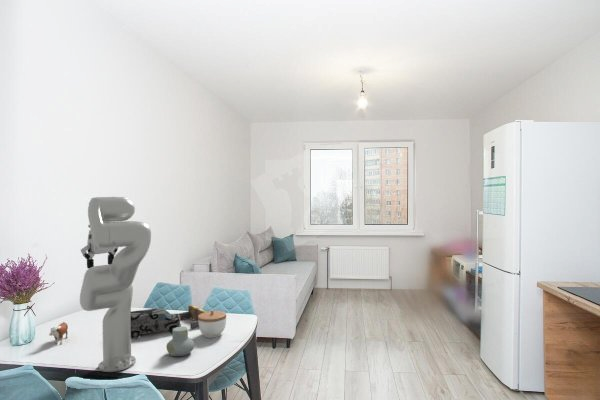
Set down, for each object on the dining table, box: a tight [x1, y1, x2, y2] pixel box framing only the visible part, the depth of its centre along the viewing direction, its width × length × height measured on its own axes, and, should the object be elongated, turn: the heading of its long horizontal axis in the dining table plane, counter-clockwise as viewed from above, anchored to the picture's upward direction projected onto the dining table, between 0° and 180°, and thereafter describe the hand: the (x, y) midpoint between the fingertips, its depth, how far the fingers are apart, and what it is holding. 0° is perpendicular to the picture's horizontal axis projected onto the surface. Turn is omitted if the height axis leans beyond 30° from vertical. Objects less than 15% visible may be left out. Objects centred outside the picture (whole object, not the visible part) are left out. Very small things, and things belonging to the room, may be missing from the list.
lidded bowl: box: [198, 309, 227, 339], centre depth 174 cm, size 13×13×11 cm
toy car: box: [131, 308, 182, 339], centre depth 179 cm, size 11×25×10 cm, turn 111°
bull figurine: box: [48, 321, 69, 346], centre depth 167 cm, size 4×13×8 cm, turn 11°
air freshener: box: [166, 326, 195, 357], centre depth 153 cm, size 11×8×10 cm
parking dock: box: [178, 304, 207, 330], centre depth 191 cm, size 19×9×6 cm, turn 41°
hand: (100, 266), depth 163 cm, fingers open, 9 cm apart
